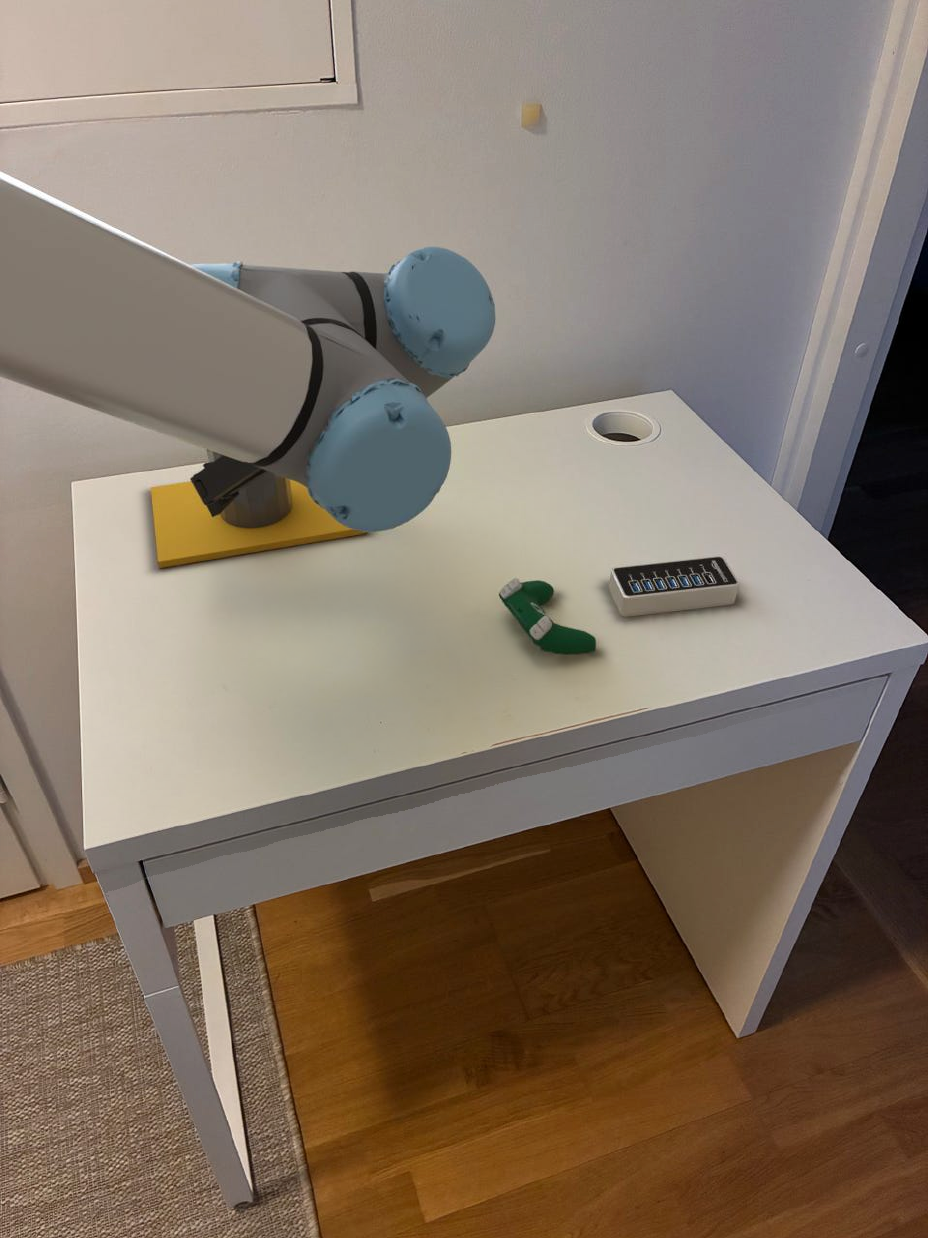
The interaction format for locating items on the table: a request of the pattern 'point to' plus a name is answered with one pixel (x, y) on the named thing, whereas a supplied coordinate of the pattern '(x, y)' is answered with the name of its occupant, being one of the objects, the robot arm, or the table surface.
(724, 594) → the multiport hub
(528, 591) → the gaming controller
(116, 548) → the table surface
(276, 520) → the steel tumbler
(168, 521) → the mat
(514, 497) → the table surface
